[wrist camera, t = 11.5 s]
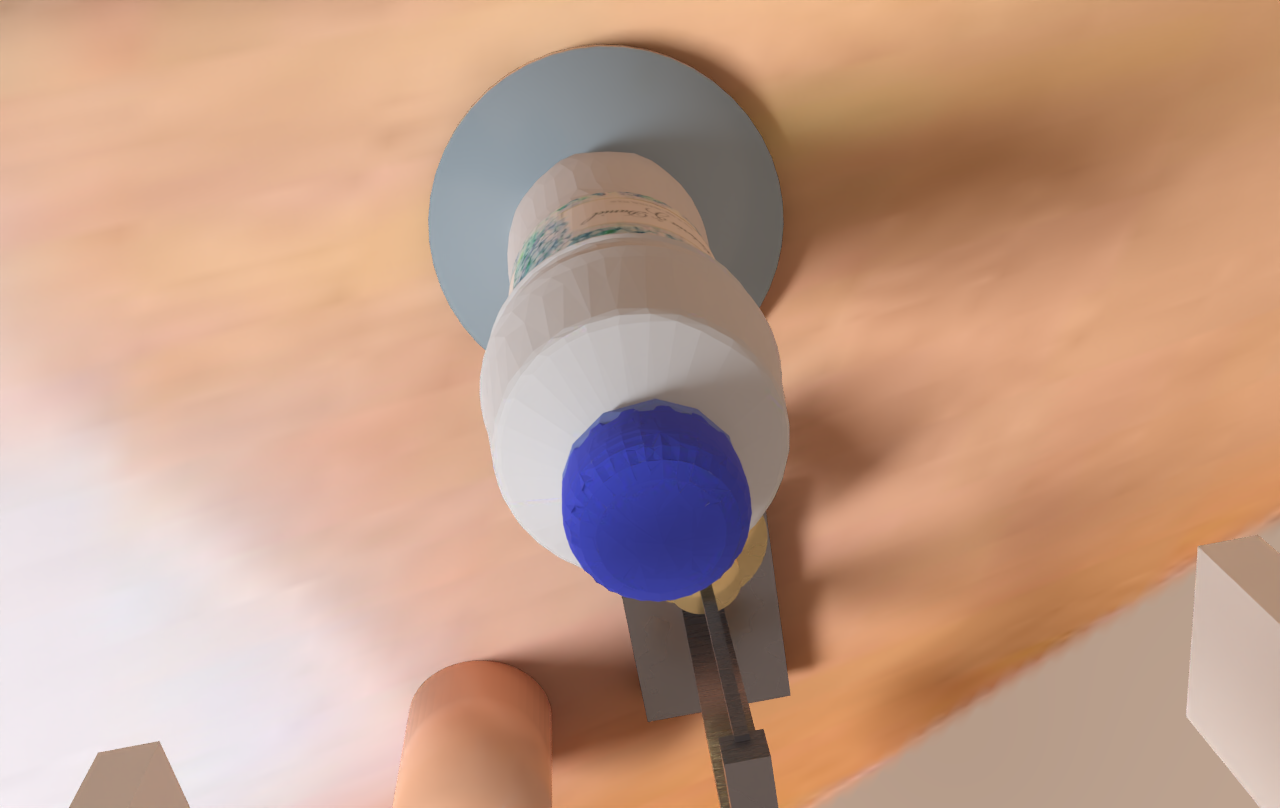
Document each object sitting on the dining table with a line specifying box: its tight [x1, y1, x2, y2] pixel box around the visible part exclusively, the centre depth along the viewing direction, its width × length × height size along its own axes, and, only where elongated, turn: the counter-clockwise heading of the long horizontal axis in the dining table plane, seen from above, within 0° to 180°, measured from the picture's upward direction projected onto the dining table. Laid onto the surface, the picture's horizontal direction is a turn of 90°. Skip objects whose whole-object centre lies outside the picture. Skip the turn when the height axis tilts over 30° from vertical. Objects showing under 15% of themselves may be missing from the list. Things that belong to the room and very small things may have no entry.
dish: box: [428, 44, 784, 350], centre depth 37 cm, size 12×12×1 cm
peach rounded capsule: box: [392, 660, 552, 808], centre depth 42 cm, size 6×6×7 cm
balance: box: [622, 511, 790, 808], centre depth 35 cm, size 17×6×18 cm, turn 9°
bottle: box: [480, 151, 789, 602], centre depth 27 cm, size 7×7×20 cm
